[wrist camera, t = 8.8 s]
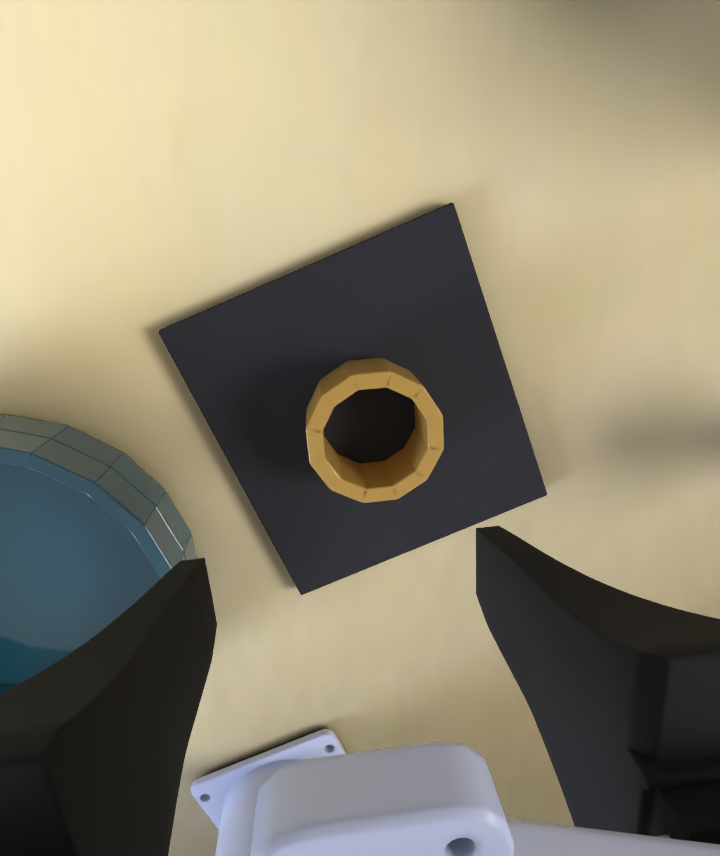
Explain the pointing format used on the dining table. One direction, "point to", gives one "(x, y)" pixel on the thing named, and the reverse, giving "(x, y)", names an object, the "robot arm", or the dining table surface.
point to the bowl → (74, 541)
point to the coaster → (362, 396)
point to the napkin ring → (379, 476)
